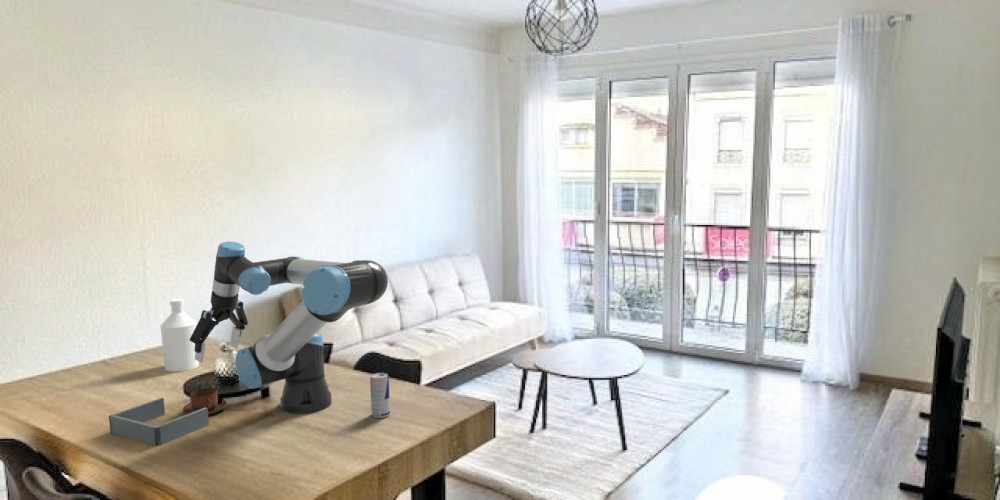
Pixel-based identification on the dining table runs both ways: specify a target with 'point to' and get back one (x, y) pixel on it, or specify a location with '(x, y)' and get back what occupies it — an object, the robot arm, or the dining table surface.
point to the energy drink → (380, 395)
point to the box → (134, 428)
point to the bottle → (178, 339)
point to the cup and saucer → (204, 401)
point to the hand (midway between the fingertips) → (216, 353)
